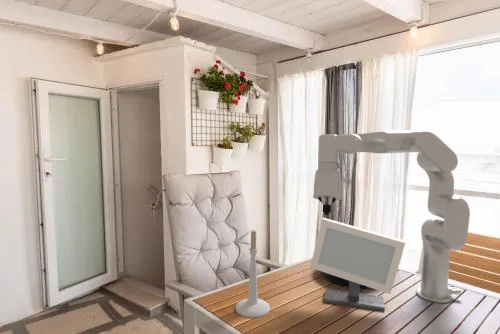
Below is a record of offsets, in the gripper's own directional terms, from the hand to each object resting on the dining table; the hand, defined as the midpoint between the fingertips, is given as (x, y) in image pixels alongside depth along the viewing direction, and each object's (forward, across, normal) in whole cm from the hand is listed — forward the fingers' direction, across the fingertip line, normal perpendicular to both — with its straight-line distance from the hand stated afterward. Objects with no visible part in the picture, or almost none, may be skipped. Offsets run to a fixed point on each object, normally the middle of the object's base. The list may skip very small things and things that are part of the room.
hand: (326, 214), depth 127 cm
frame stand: (+35, -11, -4) cm, 37 cm away
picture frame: (+24, -9, 0) cm, 26 cm away
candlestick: (+35, +25, +14) cm, 45 cm away
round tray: (+35, -10, -29) cm, 47 cm away
